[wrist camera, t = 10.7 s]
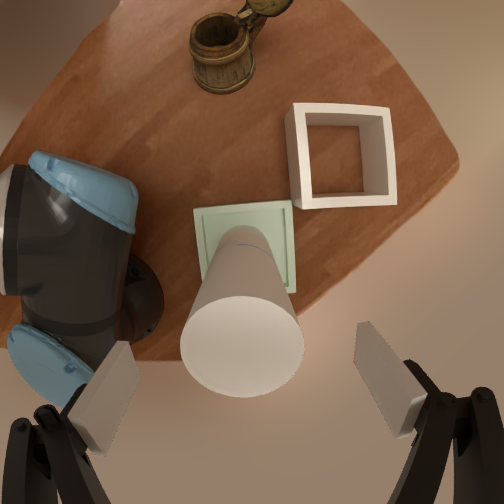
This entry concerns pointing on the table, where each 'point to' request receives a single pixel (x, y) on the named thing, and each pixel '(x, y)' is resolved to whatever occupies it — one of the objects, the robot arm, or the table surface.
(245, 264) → the cylindrical container
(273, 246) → the tray
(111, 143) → the table surface
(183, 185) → the table surface
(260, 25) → the wooden mug
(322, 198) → the hollow square frame
